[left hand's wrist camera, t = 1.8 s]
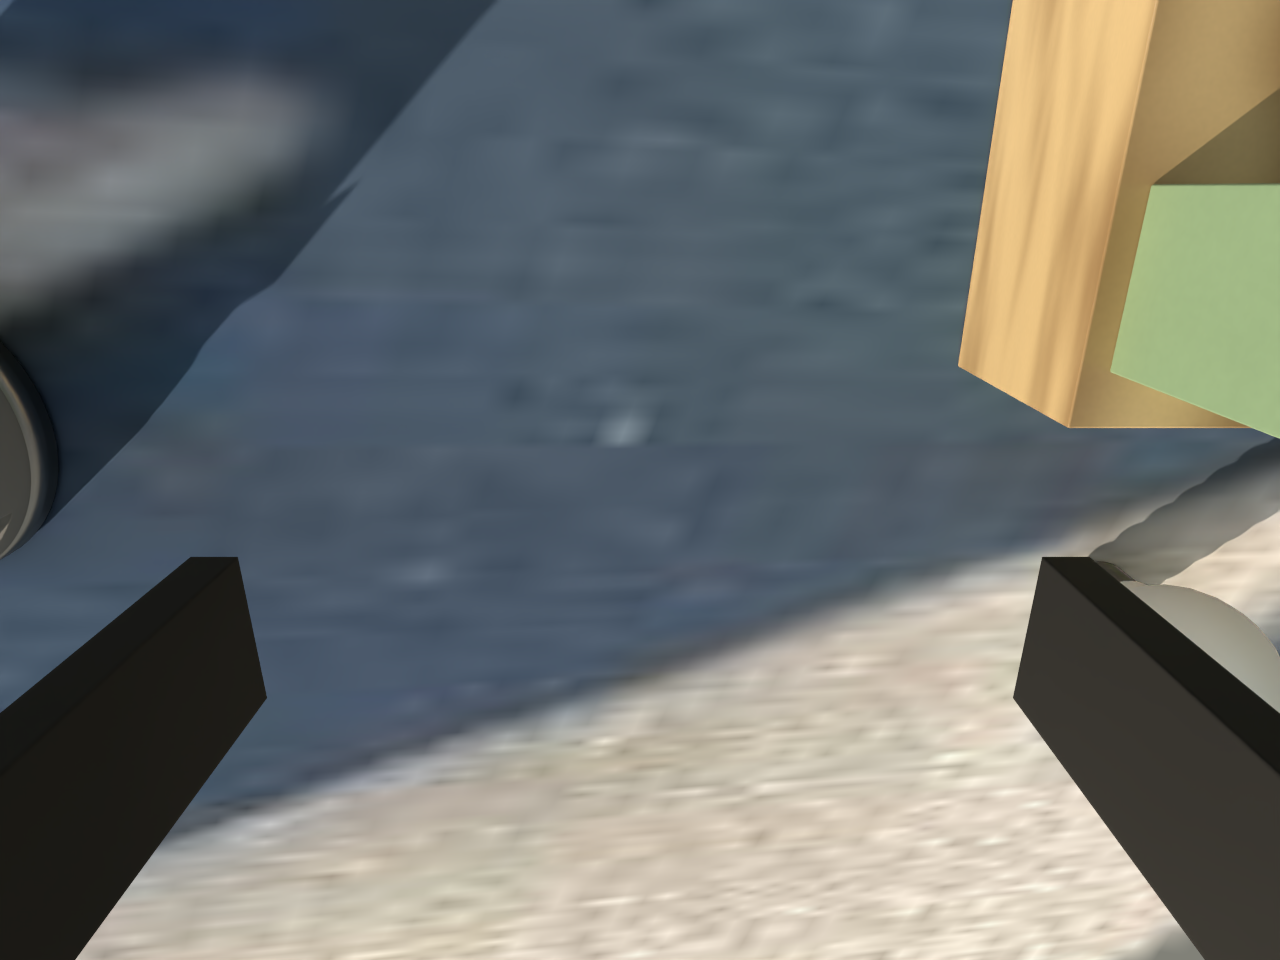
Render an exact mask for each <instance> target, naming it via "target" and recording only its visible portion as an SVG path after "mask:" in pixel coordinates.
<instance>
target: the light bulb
mask: <svg viewBox="0 0 1280 960" xmlns="http://www.w3.org/2000/svg"><path fill="white" fill-rule="evenodd" d="M1096 563H1097V564H1098V565H1100V566H1101V567H1102V568H1103V569H1104V570H1106V571H1107V572H1108V573H1109V574H1111V575H1112V576H1113V577H1114V578H1115V579H1117V580H1118V581H1119V582H1120V583H1122V584H1123V585H1124V586H1125V587H1126V588H1128V589H1129V590H1130V591H1131V592H1133V593H1134V594H1135V595H1136V596H1137V597H1139V598H1140V599H1141V600H1142V601H1144V602H1145V603H1146V604H1147V605H1148V606H1150V607H1151V608H1152V609H1153V610H1155V611H1156V612H1157V613H1158V614H1159V615H1161V616H1162V617H1163V618H1164V619H1165V620H1167V621H1168V622H1169V623H1170V624H1172V625H1173V626H1174V627H1175V628H1176V629H1178V630H1179V631H1180V632H1181V633H1183V634H1184V635H1185V636H1186V637H1187V638H1189V639H1190V640H1191V641H1192V642H1194V643H1195V644H1196V645H1197V646H1198V647H1200V648H1201V649H1202V650H1203V651H1205V652H1206V653H1207V654H1208V655H1209V656H1211V657H1212V658H1213V659H1214V660H1215V661H1217V662H1218V663H1219V664H1220V665H1222V666H1223V667H1224V668H1225V669H1226V670H1228V671H1229V672H1230V673H1231V674H1233V675H1234V676H1235V677H1236V678H1237V679H1239V680H1240V681H1241V682H1242V683H1244V684H1245V685H1246V686H1247V687H1248V688H1250V689H1251V690H1252V691H1253V692H1255V693H1256V694H1257V695H1258V696H1259V697H1261V698H1262V699H1263V700H1264V701H1266V702H1267V703H1268V704H1269V705H1270V706H1272V707H1273V708H1274V709H1275V710H1276V711H1278V712H1279V713H1280V656H1279V654H1278V652H1277V650H1276V648H1275V647H1274V645H1273V644H1272V643H1271V642H1270V640H1269V639H1268V638H1267V637H1266V635H1265V634H1264V633H1263V632H1262V631H1261V630H1260V629H1259V628H1258V626H1257V625H1256V624H1254V623H1253V622H1252V621H1251V620H1250V619H1248V618H1247V617H1246V616H1245V615H1244V614H1242V613H1241V612H1239V611H1238V610H1236V609H1235V608H1233V607H1232V606H1230V605H1228V604H1226V603H1225V602H1223V601H1221V600H1220V599H1218V598H1215V597H1213V596H1210V595H1207V594H1204V593H1202V592H1199V591H1196V590H1193V589H1191V588H1184V587H1178V586H1171V585H1148V586H1147V585H1146V584H1143V583H1141V582H1136V581H1135V580H1134V579H1132V578H1131V577H1130V576H1129V575H1127V574H1126V573H1125V572H1124V571H1122V570H1121V569H1120V568H1118V567H1117V566H1115V565H1113V564H1110V563H1107V562H1099V561H1096Z"/></svg>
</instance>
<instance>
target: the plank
mask: <svg viewBox="0 0 1280 960" xmlns="http://www.w3.org/2000/svg"><path fill="white" fill-rule="evenodd" d="M1230 183H1280V0H1013V4H1012V10H1011V17H1010V24H1009V30H1008V37H1007V44H1006V50H1005V57H1004V64H1003V70H1002V77H1001V84H1000V90H999V97H998V104H997V110H996V117H995V124H994V130H993V137H992V144H991V150H990V157H989V164H988V170H987V177H986V184H985V190H984V197H983V204H982V210H981V217H980V224H979V230H978V237H977V244H976V250H975V257H974V264H973V270H972V277H971V284H970V290H969V297H968V304H967V310H966V317H965V324H964V330H963V337H962V344H961V351H960V357H959V364H958V366H959V367H961V368H963V369H964V370H966V371H968V372H970V373H972V374H973V375H975V376H977V377H979V378H981V379H982V380H984V381H986V382H988V383H989V384H991V385H993V386H995V387H997V388H998V389H1000V390H1002V391H1004V392H1005V393H1007V394H1009V395H1011V396H1013V397H1014V398H1016V399H1018V400H1020V401H1022V402H1023V403H1025V404H1027V405H1029V406H1030V407H1032V408H1034V409H1036V410H1038V411H1039V412H1041V413H1043V414H1045V415H1046V416H1048V417H1050V418H1052V419H1054V420H1055V421H1057V422H1059V423H1061V424H1063V425H1064V426H1066V427H1068V428H1251V427H1249V426H1246V425H1244V424H1241V423H1239V422H1236V421H1234V420H1231V419H1228V418H1226V417H1223V416H1221V415H1218V414H1216V413H1213V412H1211V411H1208V410H1205V409H1203V408H1200V407H1198V406H1195V405H1193V404H1190V403H1188V402H1185V401H1183V400H1180V399H1177V398H1175V397H1172V396H1170V395H1167V394H1165V393H1162V392H1160V391H1157V390H1155V389H1152V388H1149V387H1147V386H1144V385H1142V384H1139V383H1137V382H1134V381H1132V380H1129V379H1127V378H1124V377H1121V376H1119V375H1116V374H1114V373H1111V372H1110V369H1111V365H1112V360H1113V356H1114V351H1115V347H1116V342H1117V338H1118V333H1119V329H1120V324H1121V320H1122V315H1123V311H1124V306H1125V302H1126V297H1127V293H1128V288H1129V284H1130V279H1131V275H1132V270H1133V266H1134V261H1135V256H1136V252H1137V247H1138V243H1139V238H1140V234H1141V229H1142V225H1143V220H1144V216H1145V211H1146V207H1147V202H1148V198H1149V193H1150V189H1151V186H1152V185H1153V184H1230Z"/></svg>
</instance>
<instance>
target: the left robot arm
mask: <svg viewBox="0 0 1280 960" xmlns="http://www.w3.org/2000/svg"><path fill="white" fill-rule="evenodd" d="M57 482H58V452H57V445H56V440H55V435H54V431H53V427H52V424H51V421H50V418H49V416H48V413H47V411H46V408H45V406H44V404H43V401H42V399H41V397H40V395H39V394H38V392H37V390H36V388H35V386H34V384H33V383H32V381H31V380H30V378H29V377H28V375H27V374H26V372H25V371H24V369H23V368H22V366H21V365H20V364H19V363H18V361H17V360H16V359H15V357H14V356H13V355H12V354H11V353H10V351H9V350H8V349H7V348H6V347H5V346H4V345H3V344H2V342H1V341H0V560H1V559H2V558H4V557H6V556H8V555H9V554H11V553H12V552H14V551H16V550H17V549H19V548H20V547H21V546H23V545H24V544H25V543H26V542H27V541H28V540H30V539H31V537H32V536H33V535H34V534H35V533H36V532H37V531H38V529H39V528H40V527H41V525H42V524H43V522H44V521H45V519H46V517H47V515H48V513H49V511H50V509H51V506H52V503H53V500H54V498H55V493H56V488H57ZM1013 698H1014V700H1015V701H1016V703H1017V704H1018V705H1019V707H1020V708H1021V709H1022V711H1023V712H1024V714H1025V715H1026V716H1027V718H1028V719H1029V720H1030V722H1031V723H1032V724H1033V726H1034V727H1035V729H1036V730H1037V731H1038V733H1039V734H1040V735H1041V737H1042V738H1043V739H1044V741H1045V742H1046V744H1047V745H1048V746H1049V748H1050V749H1051V750H1052V752H1053V753H1054V754H1055V756H1056V757H1057V759H1058V760H1059V761H1060V763H1061V764H1062V765H1063V767H1064V768H1065V769H1066V771H1067V772H1068V774H1069V775H1070V776H1071V778H1072V779H1073V780H1074V782H1075V783H1076V784H1077V786H1078V787H1079V789H1080V790H1081V791H1082V793H1083V794H1084V795H1085V797H1086V798H1087V800H1088V801H1089V802H1090V804H1091V805H1092V806H1093V808H1094V809H1095V810H1096V812H1097V813H1098V815H1099V816H1100V817H1101V819H1102V820H1103V821H1104V823H1105V824H1106V825H1107V827H1108V828H1109V830H1110V831H1111V832H1112V834H1113V835H1114V836H1115V838H1116V839H1117V840H1118V842H1119V843H1120V845H1121V846H1122V847H1123V849H1124V850H1125V851H1126V853H1127V854H1128V855H1129V857H1130V858H1131V860H1132V861H1133V862H1134V864H1135V865H1136V866H1137V868H1138V869H1139V870H1140V872H1141V873H1142V875H1143V876H1144V877H1145V879H1146V880H1147V881H1148V883H1149V884H1150V886H1151V887H1152V888H1153V890H1154V891H1155V892H1156V894H1157V895H1158V896H1159V898H1160V899H1161V901H1162V902H1163V903H1164V905H1165V906H1166V907H1167V909H1168V910H1169V911H1170V913H1171V914H1172V916H1173V917H1174V918H1175V920H1176V921H1177V922H1178V924H1179V925H1180V926H1181V928H1182V929H1183V931H1184V932H1185V933H1186V935H1187V936H1188V937H1189V939H1190V940H1191V941H1192V943H1193V944H1194V946H1195V947H1196V948H1197V950H1198V951H1199V952H1200V954H1201V955H1202V956H1203V958H1204V959H1205V960H1280V713H1279V712H1278V711H1276V710H1275V709H1274V708H1273V707H1272V706H1270V705H1269V704H1268V703H1267V702H1266V701H1264V700H1263V699H1262V698H1261V697H1259V696H1258V695H1257V694H1256V693H1255V692H1253V691H1252V690H1251V689H1250V688H1248V687H1247V686H1246V685H1245V684H1244V683H1242V682H1241V681H1240V680H1239V679H1237V678H1236V677H1235V676H1234V675H1233V674H1231V673H1230V672H1229V671H1228V670H1226V669H1225V668H1224V667H1223V666H1222V665H1220V664H1219V663H1218V662H1217V661H1215V660H1214V659H1213V658H1212V657H1211V656H1209V655H1208V654H1207V653H1206V652H1205V651H1203V650H1202V649H1201V648H1200V647H1198V646H1197V645H1196V644H1195V643H1194V642H1192V641H1191V640H1190V639H1189V638H1187V637H1186V636H1185V635H1184V634H1183V633H1181V632H1180V631H1179V630H1178V629H1176V628H1175V627H1174V626H1173V625H1172V624H1170V623H1169V622H1168V621H1167V620H1165V619H1164V618H1163V617H1162V616H1161V615H1159V614H1158V613H1157V612H1156V611H1155V610H1153V609H1152V608H1151V607H1150V606H1148V605H1147V604H1146V603H1145V602H1144V601H1142V600H1141V599H1140V598H1139V597H1137V596H1136V595H1135V594H1134V593H1133V592H1131V591H1130V590H1129V589H1128V588H1126V587H1125V586H1124V585H1123V584H1122V583H1120V582H1119V581H1118V580H1117V579H1115V578H1114V577H1113V576H1112V575H1111V574H1109V573H1108V572H1107V571H1106V570H1104V569H1103V568H1102V567H1101V566H1100V565H1098V564H1097V563H1096V562H1095V561H1094V560H1092V559H1091V558H1090V557H1042V561H1041V566H1040V571H1039V575H1038V580H1037V585H1036V590H1035V595H1034V600H1033V604H1032V609H1031V614H1030V619H1029V624H1028V628H1027V633H1026V638H1025V643H1024V648H1023V653H1022V657H1021V662H1020V667H1019V672H1018V677H1017V681H1016V686H1015V691H1014V696H1013ZM266 699H267V696H266V691H265V686H264V681H263V677H262V672H261V667H260V662H259V657H258V653H257V648H256V643H255V638H254V633H253V628H252V624H251V619H250V614H249V609H248V604H247V600H246V595H245V590H244V585H243V580H242V575H241V571H240V566H239V561H238V557H190V558H189V559H188V560H186V561H185V562H184V563H183V564H182V565H180V566H179V567H178V568H177V569H176V570H174V571H173V572H172V573H171V574H169V575H168V576H167V577H166V578H165V579H163V580H162V581H161V582H160V583H158V584H157V585H156V586H155V587H154V588H152V589H151V590H150V591H149V592H147V593H146V594H145V595H144V596H143V597H141V598H140V599H139V600H138V601H136V602H135V603H134V604H133V605H132V606H130V607H129V608H128V609H127V610H125V611H124V612H123V613H122V614H121V615H119V616H118V617H117V618H116V619H115V620H113V621H112V622H111V623H110V624H108V625H107V626H106V627H105V628H104V629H102V630H101V631H100V632H99V633H97V634H96V635H95V636H94V637H93V638H91V639H90V640H89V641H88V642H86V643H85V644H84V645H83V646H82V647H80V648H79V649H78V650H77V651H75V652H74V653H73V654H72V655H71V656H69V657H68V658H67V659H66V660H65V661H63V662H62V663H61V664H60V665H58V666H57V667H56V668H55V669H54V670H52V671H51V672H50V673H49V674H47V675H46V676H45V677H44V678H43V679H41V680H40V681H39V682H38V683H36V684H35V685H34V686H33V687H32V688H30V689H29V690H28V691H27V692H25V693H24V694H23V695H22V696H21V697H19V698H18V699H17V700H16V701H15V702H13V703H12V704H11V705H10V706H8V707H7V708H6V709H5V710H4V711H2V712H1V713H0V960H75V959H76V958H77V956H78V955H79V954H80V952H81V951H82V950H83V948H84V947H85V946H86V944H87V943H88V941H89V940H90V939H91V937H92V936H93V935H94V933H95V932H96V931H97V929H98V928H99V926H100V925H101V924H102V922H103V921H104V920H105V918H106V917H107V916H108V914H109V913H110V911H111V910H112V909H113V907H114V906H115V905H116V903H117V902H118V901H119V899H120V898H121V896H122V895H123V894H124V892H125V891H126V890H127V888H128V887H129V886H130V884H131V883H132V881H133V880H134V879H135V877H136V876H137V875H138V873H139V872H140V870H141V869H142V868H143V866H144V865H145V864H146V862H147V861H148V860H149V858H150V857H151V855H152V854H153V853H154V851H155V850H156V849H157V847H158V846H159V845H160V843H161V842H162V840H163V839H164V838H165V836H166V835H167V834H168V832H169V831H170V830H171V828H172V827H173V825H174V824H175V823H176V821H177V820H178V819H179V817H180V816H181V815H182V813H183V812H184V810H185V809H186V808H187V806H188V805H189V804H190V802H191V801H192V800H193V798H194V797H195V795H196V794H197V793H198V791H199V790H200V789H201V787H202V786H203V784H204V783H205V782H206V780H207V779H208V778H209V776H210V775H211V774H212V772H213V771H214V769H215V768H216V767H217V765H218V764H219V763H220V761H221V760H222V759H223V757H224V756H225V754H226V753H227V752H228V750H229V749H230V748H231V746H232V745H233V744H234V742H235V741H236V739H237V738H238V737H239V735H240V734H241V733H242V731H243V730H244V729H245V727H246V726H247V724H248V723H249V722H250V720H251V719H252V718H253V716H254V715H255V714H256V712H257V711H258V709H259V708H260V707H261V705H262V704H263V703H264V701H265V700H266Z"/></svg>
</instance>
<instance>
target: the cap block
mask: <svg viewBox="0 0 1280 960" xmlns="http://www.w3.org/2000/svg"><path fill="white" fill-rule="evenodd" d="M1110 372H1111V373H1114V374H1116V375H1119V376H1121V377H1124V378H1127V379H1129V380H1132V381H1134V382H1137V383H1139V384H1142V385H1144V386H1147V387H1149V388H1152V389H1155V390H1157V391H1160V392H1162V393H1165V394H1167V395H1170V396H1172V397H1175V398H1177V399H1180V400H1183V401H1185V402H1188V403H1190V404H1193V405H1195V406H1198V407H1200V408H1203V409H1205V410H1208V411H1211V412H1213V413H1216V414H1218V415H1221V416H1223V417H1226V418H1228V419H1231V420H1234V421H1236V422H1239V423H1241V424H1244V425H1246V426H1249V427H1251V428H1254V429H1256V430H1259V431H1262V432H1264V433H1267V434H1269V435H1272V436H1274V437H1277V438H1279V439H1280V183H1230V184H1153V185H1152V186H1151V189H1150V193H1149V198H1148V202H1147V207H1146V211H1145V216H1144V220H1143V225H1142V229H1141V234H1140V238H1139V243H1138V247H1137V252H1136V256H1135V261H1134V266H1133V270H1132V275H1131V279H1130V284H1129V288H1128V293H1127V297H1126V302H1125V306H1124V311H1123V315H1122V320H1121V324H1120V329H1119V333H1118V338H1117V342H1116V347H1115V351H1114V356H1113V360H1112V365H1111V369H1110Z"/></svg>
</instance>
